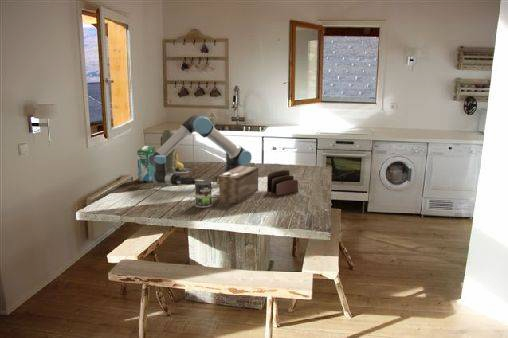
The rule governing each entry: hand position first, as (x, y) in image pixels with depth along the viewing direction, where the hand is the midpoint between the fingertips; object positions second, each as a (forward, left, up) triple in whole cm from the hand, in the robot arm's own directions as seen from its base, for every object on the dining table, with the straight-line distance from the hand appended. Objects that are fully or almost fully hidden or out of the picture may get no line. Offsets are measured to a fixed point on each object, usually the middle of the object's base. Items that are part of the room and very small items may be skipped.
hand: (203, 182), depth 306 cm
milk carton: (+10, -57, -8) cm, 59 cm away
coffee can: (+16, +21, -8) cm, 27 cm away
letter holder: (-43, +31, -8) cm, 54 cm away
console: (-15, +18, -8) cm, 25 cm away
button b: (-11, +10, -2) cm, 16 cm away
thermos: (-10, -59, -8) cm, 61 cm away
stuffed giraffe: (-26, -68, -8) cm, 73 cm away
